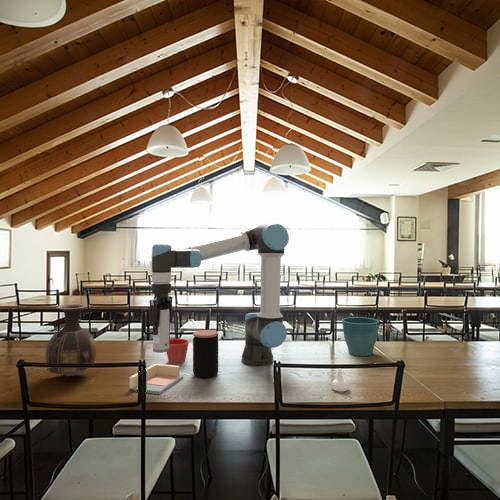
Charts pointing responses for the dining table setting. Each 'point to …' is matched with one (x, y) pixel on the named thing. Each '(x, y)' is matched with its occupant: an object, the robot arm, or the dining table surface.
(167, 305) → the travel mug
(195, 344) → the coffee jar
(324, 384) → the dining table surface
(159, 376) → the tray
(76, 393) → the dining table surface
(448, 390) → the dining table surface
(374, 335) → the flower pot
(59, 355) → the vase
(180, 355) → the flower pot
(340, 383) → the garlic bulb
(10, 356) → the dining table surface
